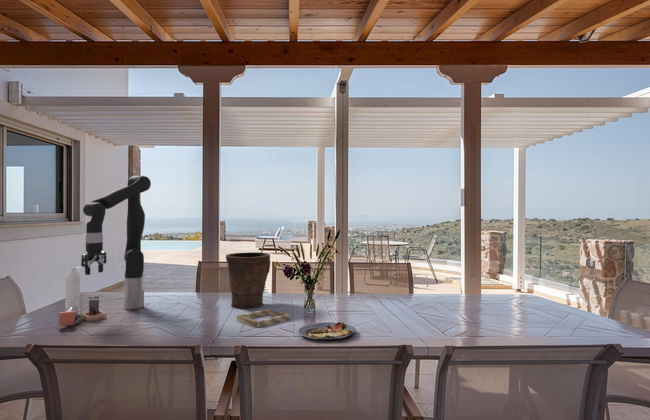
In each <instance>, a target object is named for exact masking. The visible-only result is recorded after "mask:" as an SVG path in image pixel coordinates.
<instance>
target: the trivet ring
mask: <svg viewBox="0 0 650 420" xmlns="http://www.w3.org/2000/svg"><path fill="white" fill-rule="evenodd" d="M267 315H268V316H272V317H270V318H265V319H261V320H256V318H259V317H263V316H267ZM254 318H255V319H254ZM289 320H290V314H289V313H287V312H283V311H279V310H274V309H272V308H271V309H268V308H265V309H262V310H257V311H251V312H248V313H243V314H238V315H236V321H237V322H238V323H240V324H243V325H247V326H250V327H253V328H262V327H266V326H270V325H274V324H277V323H281V322H286V321H289Z"/></svg>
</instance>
